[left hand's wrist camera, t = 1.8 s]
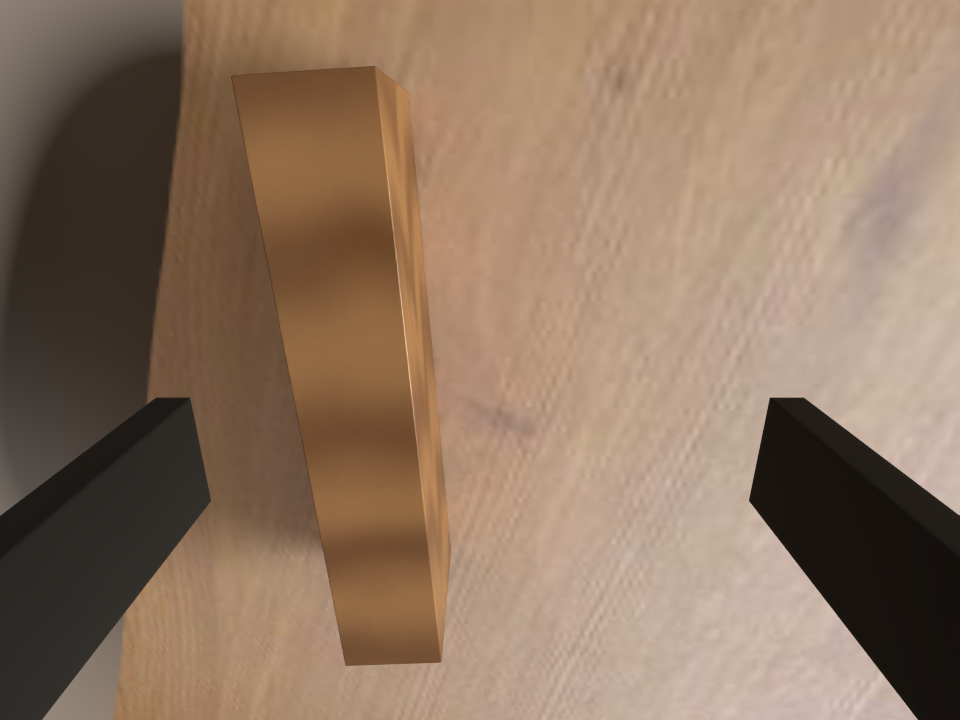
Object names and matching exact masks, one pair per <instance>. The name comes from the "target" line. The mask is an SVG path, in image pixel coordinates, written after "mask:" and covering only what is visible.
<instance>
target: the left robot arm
mask: <svg viewBox="0 0 960 720" xmlns="http://www.w3.org/2000/svg"><path fill="white" fill-rule="evenodd" d="M210 501H211V498H210V493H209V489H208V484H207V479H206V474H205V469H204V464H203V459H202V454H201V449H200V444H199V439H198V435H197V430H196V425H195V420H194V415H193V410H192V405H191V400H190V398H155V399H154V400H153V401H151V402H150V403H149V404H147V405H146V406H145V407H143V408H142V409H141V410H139V411H138V412H137V413H135V414H134V415H133V416H131V417H130V418H129V419H127V420H126V421H125V422H123V423H122V424H121V425H120V426H118V427H117V428H116V429H114V430H113V431H112V432H110V433H109V434H108V435H106V436H105V437H104V438H102V439H101V440H100V441H98V442H97V443H96V444H95V445H93V446H92V447H91V448H89V449H88V450H87V451H85V452H84V453H83V454H81V455H80V456H79V457H77V458H76V459H75V460H73V461H72V462H71V463H69V464H68V465H67V466H65V467H64V468H63V469H61V470H60V471H59V472H58V473H56V474H55V475H54V476H52V477H51V478H50V479H48V480H47V481H46V482H44V483H43V484H42V485H40V486H39V487H38V488H36V489H35V490H34V491H33V492H31V493H30V494H28V495H27V496H26V497H25V498H23V499H22V500H21V501H19V502H18V503H17V504H15V505H14V506H13V507H11V508H10V509H9V510H7V511H6V512H5V513H4V514H2V515H1V516H0V720H42V719H43V718H44V716H45V715H46V714H47V713H48V711H49V710H50V709H51V707H52V706H53V705H54V703H55V702H56V701H57V699H58V698H59V697H60V696H61V694H62V693H63V692H64V690H65V689H66V688H67V687H68V685H69V684H70V683H71V681H72V680H73V679H74V678H75V676H76V675H77V674H78V672H79V671H80V670H81V668H82V667H83V666H84V664H85V663H86V662H87V661H88V659H89V658H90V657H91V656H92V654H93V653H94V652H95V650H96V649H97V648H98V646H99V645H100V644H101V643H102V641H103V640H104V639H105V637H106V636H107V635H108V634H109V632H110V631H111V630H112V628H113V627H114V626H115V624H116V623H117V622H118V620H119V619H120V618H121V617H122V615H123V614H124V613H125V611H126V610H127V609H128V608H129V606H130V605H131V604H132V602H133V601H134V600H135V599H136V597H137V596H138V595H139V593H140V592H141V591H142V589H143V588H144V587H145V586H146V584H147V583H148V582H149V580H150V579H151V578H152V577H153V575H154V574H155V573H156V571H157V570H158V569H159V567H160V566H161V565H162V564H163V562H164V561H165V560H166V558H167V557H168V556H169V554H170V553H171V552H172V551H173V549H174V548H175V547H176V545H177V544H178V543H179V542H180V540H181V539H182V538H183V536H184V535H185V534H186V532H187V531H188V530H189V529H190V527H191V526H192V525H193V523H194V522H195V521H196V520H197V518H198V517H199V516H200V514H201V513H202V512H203V510H204V509H205V508H206V507H207V505H208V504H209V503H210ZM749 501H750V503H751V504H752V505H753V507H754V508H755V509H756V510H757V512H758V513H759V514H760V516H761V517H762V518H763V520H764V521H765V522H766V523H767V525H768V526H769V527H770V529H771V530H772V531H773V532H774V534H775V535H776V536H777V538H778V539H779V540H780V542H781V543H782V544H783V545H784V547H785V548H786V549H787V551H788V552H789V553H790V554H791V556H792V557H793V558H794V560H795V561H796V562H797V564H798V565H799V566H800V567H801V569H802V570H803V571H804V573H805V574H806V575H807V577H808V578H809V579H810V580H811V582H812V583H813V584H814V586H815V587H816V588H817V589H818V591H819V592H820V593H821V595H822V596H823V597H824V599H825V600H826V601H827V602H828V604H829V605H830V606H831V608H832V609H833V610H834V611H835V613H836V614H837V615H838V617H839V618H840V619H841V621H842V622H843V623H844V624H845V626H846V627H847V628H848V630H849V631H850V632H851V634H852V635H853V636H854V637H855V639H856V640H857V641H858V643H859V644H860V645H861V646H862V648H863V649H864V650H865V652H866V653H867V654H868V656H869V657H870V658H871V659H872V661H873V662H874V663H875V665H876V666H877V667H878V668H879V670H880V671H881V672H882V674H883V675H884V676H885V678H886V679H887V680H888V681H889V683H890V684H891V685H892V687H893V688H894V689H895V691H896V692H897V693H898V694H899V696H900V697H901V698H902V700H903V701H904V702H905V703H906V705H907V706H908V707H909V709H910V710H911V711H912V713H913V714H914V715H915V716H916V718H917V719H918V720H960V515H958V514H957V513H955V512H954V511H953V510H951V509H950V508H949V507H947V506H946V505H945V504H943V503H942V502H941V501H939V500H938V499H937V498H935V497H934V496H933V495H932V494H930V493H929V492H928V491H926V490H925V489H924V488H922V487H921V486H920V485H918V484H917V483H916V482H914V481H913V480H912V479H910V478H909V477H908V476H906V475H905V474H904V473H902V472H901V471H900V470H899V469H897V468H896V467H895V466H893V465H892V464H891V463H889V462H888V461H887V460H885V459H884V458H883V457H881V456H880V455H879V454H877V453H876V452H875V451H873V450H872V449H871V448H869V447H868V446H867V445H866V444H864V443H863V442H862V441H860V440H859V439H858V438H856V437H855V436H854V435H852V434H851V433H850V432H848V431H847V430H846V429H844V428H843V427H842V426H840V425H839V424H838V423H837V422H835V421H834V420H833V419H831V418H830V417H829V416H827V415H826V414H825V413H823V412H822V411H821V410H819V409H818V408H817V407H815V406H814V405H813V404H811V403H810V402H809V401H807V400H806V399H805V398H770V400H769V405H768V410H767V415H766V420H765V425H764V430H763V434H762V439H761V444H760V449H759V454H758V459H757V464H756V469H755V474H754V479H753V484H752V489H751V493H750V498H749Z"/></svg>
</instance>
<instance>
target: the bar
mask: <svg viewBox="0 0 960 720" xmlns="http://www.w3.org/2000/svg"><path fill="white" fill-rule="evenodd" d="M231 78H232V83H233V88H234V94H235V99H236V104H237V109H238V114H239V119H240V124H241V130H242V135H243V140H244V145H245V150H246V155H247V161H248V166H249V171H250V176H251V181H252V186H253V191H254V197H255V202H256V207H257V212H258V217H259V222H260V227H261V233H262V238H263V243H264V248H265V253H266V258H267V263H268V269H269V274H270V279H271V284H272V289H273V294H274V300H275V305H276V310H277V315H278V320H279V325H280V330H281V336H282V341H283V346H284V351H285V356H286V361H287V366H288V372H289V377H290V382H291V387H292V392H293V397H294V402H295V408H296V413H297V418H298V423H299V428H300V433H301V439H302V444H303V449H304V454H305V459H306V464H307V469H308V475H309V480H310V485H311V490H312V495H313V500H314V505H315V511H316V516H317V521H318V526H319V531H320V536H321V541H322V547H323V552H324V557H325V562H326V567H327V572H328V578H329V583H330V588H331V593H332V598H333V603H334V608H335V614H336V619H337V624H338V629H339V634H340V639H341V644H342V650H343V655H344V660H345V665H346V666H354V665H382V664H410V663H439V662H441V661H442V651H443V639H444V627H445V615H446V603H447V591H448V579H449V567H450V555H451V547H450V536H449V526H448V515H447V504H446V493H445V483H444V472H443V461H442V450H441V439H440V429H439V418H438V407H437V396H436V386H435V375H434V364H433V353H432V343H431V332H430V321H429V310H428V300H427V289H426V278H425V267H424V257H423V246H422V235H421V224H420V213H419V203H418V192H417V181H416V170H415V160H414V149H413V138H412V127H411V117H410V106H409V95H408V91H407V90H405V89H404V88H403V87H402V86H400V85H399V84H398V83H396V82H395V81H394V80H392V79H391V78H390V77H389V76H387V75H386V74H385V73H383V72H382V71H381V70H379V69H378V68H377V67H375V66H369V67H353V68H338V69H322V70H307V71H292V72H276V73H261V74H246V75H233V76H231Z"/></svg>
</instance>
